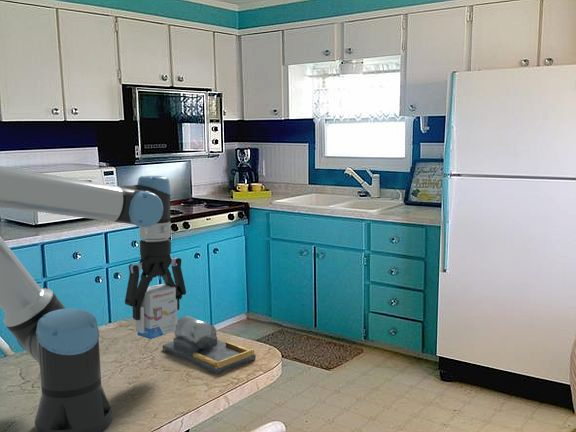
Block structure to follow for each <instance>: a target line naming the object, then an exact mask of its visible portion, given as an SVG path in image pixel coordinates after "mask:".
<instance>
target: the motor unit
mask: <svg viewBox="0 0 576 432" xmlns="http://www.w3.org/2000/svg"><path fill="white" fill-rule="evenodd" d="M173 334H174V336H175V337H173V341H171V342H167V343H164V344H162V351H164V352H166V353H169V354H171V355H173V356H175V357H178V358H180V359H183V360H184V361H186V362H188V363H191V364H192V365H195V366H198V367H200V368H202V369H205V370H207V371H208V372H211V373H214V374H215V375H219V374H221V373H224V372H226V371H230V370H232V369H235V368H237V366H238V367H240V366H243V365H245V364H247V362H248V363H250V362H249V361H251V362H253V361H255V360H254V359H256V356H257V355H256V354H255V349H254V348H251V349H250V348H247V347H244V346H241V345H240V344H236V343H234V342H231V341H226V342H224V341H222V340H219V339H218V336H217V335H218V333H217V329H216V327H215V326H214V325H213V324H212V323H208V322H206V321H204V320H200V319H198V318H194V317H191V316H190V315H184V316H181V317H180V318H179V319H177V325H176V331H174V332H173ZM252 360H253V361H252ZM242 364H243V365H242Z"/></svg>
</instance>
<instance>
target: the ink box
mask: <svg viewBox="0 0 576 432" xmlns="http://www.w3.org/2000/svg"><path fill="white" fill-rule="evenodd" d="M141 306H143V307H144V331H145V333H139V332H137V336H139V337H143V338H146V339H148V340H152V339H156V338H158V337H162V336H165V335H167V334H170V333H174V331H176V287H170V286H167V285H166V284H165V283H161V284H156V285H151V286H150V285H149V286H148V289H147V291H146V293H145V296H144V299H143V302H142V304H141Z"/></svg>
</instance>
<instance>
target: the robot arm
mask: <svg viewBox="0 0 576 432" xmlns="http://www.w3.org/2000/svg"><path fill="white" fill-rule="evenodd" d="M171 195H172V193H171V185H170V180H169V178H168V177H167V176H166V175H142V176H139V177H138V180H137V184H133V185H112V184H105V183H101V182H100V183H99V182H94V181H88V180H83V179H77V178H72V177H70V178H69V177H66V176H65V177H64V176H59V175H53V174H48V173H41V172H35V171H31V170H26V169H19V168H13V167H8V166H1V165H0V208H7V209H14V210H20V211H21V210H22V211H27V212H28V211H30V212H35V213H37V212H38V213H43V214H44V213H46V214H52V215H60V216H66V217H67V216H69V217H76V218H83V219H91V220H92V219H93V220H99V221H107V222H113V223H114V222H115V223H121V224H126V225H127V224H128V225H134V226H136V227H138V229H139V230H138V233H139V238H140V241H139V255H140V260H139V262H138V263H136V264H133V263H130V264H129V265H128V271H129V272H128V273H129V275H128V282H127V286H126V287H127V288H126V291H125V292H126V294H125V297H124V298H125V299H124V304H125V305H127V306H129V307H131V308H132V318H133V320H135V332H137V333H138V332H139V333H145V331H144V307H143V306H141V304H142V302H143V299H144V296H145V293H146V291H147V289H148V287H150V283H152V281H153V280H154V278H156V277H161V278H162V280H163V282H164V284H166V285H167V286H170V287H176V325H177V321H178V311H180V300H182V298H183V296H185V295H186V294H187V290H186V286H185V280H184V276H183V271H182V258H180V257H176V256H173V257H171V253H172V240H171V239H170V237H171V236H172V233H171V232H172V231H171V229H172V227H171ZM170 266H171V270H172V271H170V269H169V268H170ZM141 270H142V272H141ZM171 272H172V273H171ZM140 273H141V275H140ZM172 275H173V277H172ZM0 309H1V310H2V311H3V312H4V317H3V324H4V326H5V327H6V328H7V329H8V331H9V332H10V333H11V334H12V336H13V337H14V338H15V339H16V342H17V344H18V345H19V346H20V347H21V348H22V349H23V350H24V351H25V352H27V353H28V354H29V355H30V356H31V357H32V358H33V359H34V360H35V361H36V362H37V363H38V365H39V374H40V375H39V376H40V385H41V396H40V400H39V403H38V407H37V410H36V414H35V418H34V432H103V431H105V430H106V429H107V428H108V427H109V426H110V425H111V423H112V421H113V412H112V406H111V404H110V402H109V399H108V397H107V394H106V393H105V390H104V387H103V385H102V373H101V357H100V355H101V354H100V353H101V352H100V330H99V327H98V320H97V318H96V316H94V314H93V313H91V312H89V311H88V310H84V309H77V308H66V307H65V306H64V304H63V303H62V302H61V301H60V298H58V296H57V295H56V294H55V293H54V291H53V290H52V289H50V288H43V287H41V286H40V285H39V284H38V283H37V281H36V280H35V279H34V278H33V276H32V275H31V273H30V272H29V271H28V270H27V269H26V267H25V266H24V264H22V262H21V261H20V259H19V258H18V257H17V256H16V254H15V253H14V252H13V251H12V249H11V248H10V247H9V245H8V244H7V243H6V242H5V240H4V239H3V237H2V236H1V235H0Z"/></svg>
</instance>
